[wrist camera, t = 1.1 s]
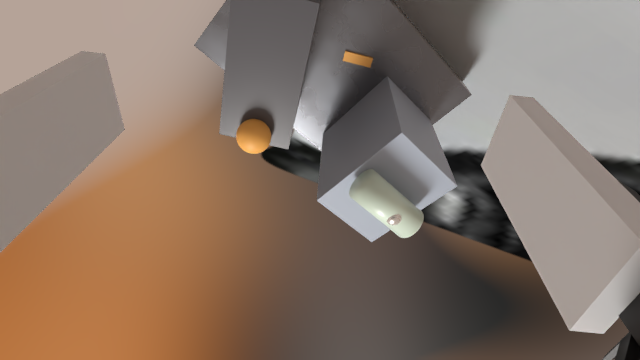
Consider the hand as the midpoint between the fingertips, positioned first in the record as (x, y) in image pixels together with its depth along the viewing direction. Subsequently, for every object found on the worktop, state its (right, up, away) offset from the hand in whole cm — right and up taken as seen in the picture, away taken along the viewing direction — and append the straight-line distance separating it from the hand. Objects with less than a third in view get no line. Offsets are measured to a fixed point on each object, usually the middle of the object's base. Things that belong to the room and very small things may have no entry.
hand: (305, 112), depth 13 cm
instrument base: (+2, +9, +22) cm, 23 cm away
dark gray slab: (-3, +9, +18) cm, 20 cm away
